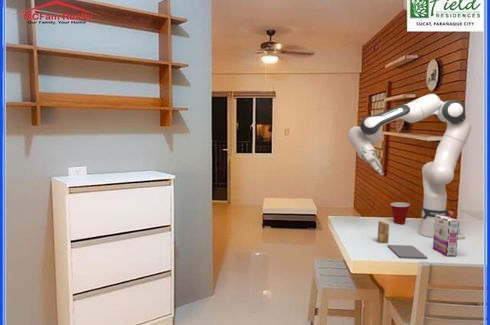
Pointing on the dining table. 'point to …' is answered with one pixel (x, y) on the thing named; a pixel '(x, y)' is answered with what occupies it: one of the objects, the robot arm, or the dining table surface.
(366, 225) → the dining table surface
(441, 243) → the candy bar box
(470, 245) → the dining table surface
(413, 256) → the slate mat
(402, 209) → the plastic cup
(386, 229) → the oak block
